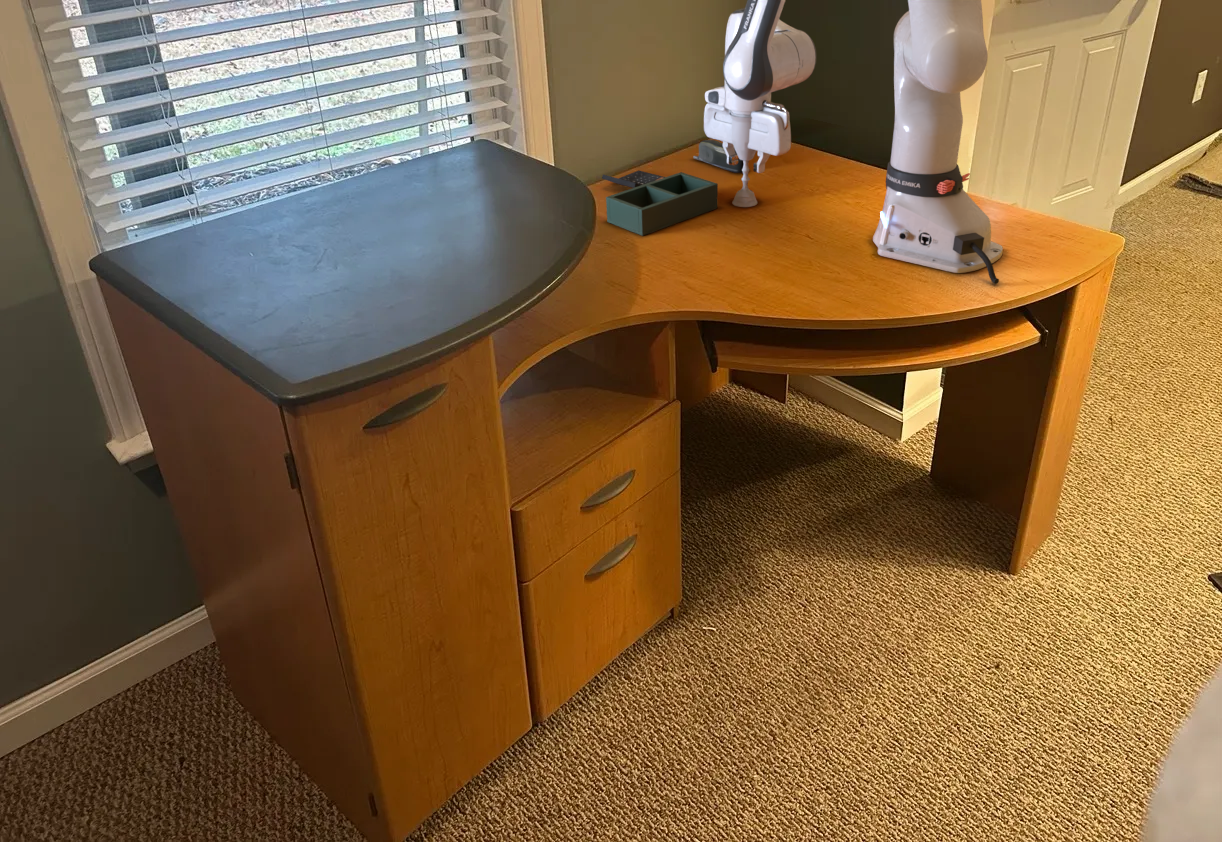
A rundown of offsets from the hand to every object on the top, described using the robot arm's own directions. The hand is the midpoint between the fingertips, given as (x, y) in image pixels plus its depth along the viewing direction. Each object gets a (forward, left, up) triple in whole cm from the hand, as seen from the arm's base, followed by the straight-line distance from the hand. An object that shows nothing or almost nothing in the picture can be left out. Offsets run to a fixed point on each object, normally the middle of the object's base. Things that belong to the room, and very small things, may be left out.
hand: (745, 168), depth 195 cm
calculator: (+24, +8, -7) cm, 26 cm away
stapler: (+20, -13, -7) cm, 25 cm away
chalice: (0, 0, -7) cm, 7 cm away
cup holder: (+7, +16, -7) cm, 19 cm away
